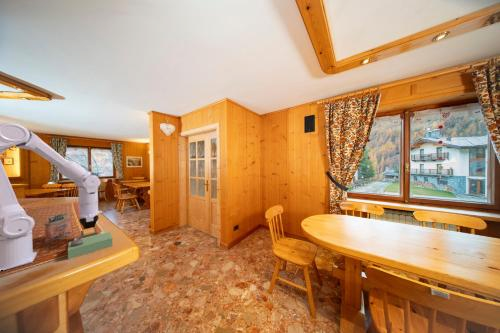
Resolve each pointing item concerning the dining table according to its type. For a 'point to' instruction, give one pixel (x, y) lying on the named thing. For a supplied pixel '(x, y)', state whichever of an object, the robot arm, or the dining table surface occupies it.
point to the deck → (89, 244)
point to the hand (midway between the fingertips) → (89, 234)
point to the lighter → (57, 227)
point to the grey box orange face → (88, 232)
